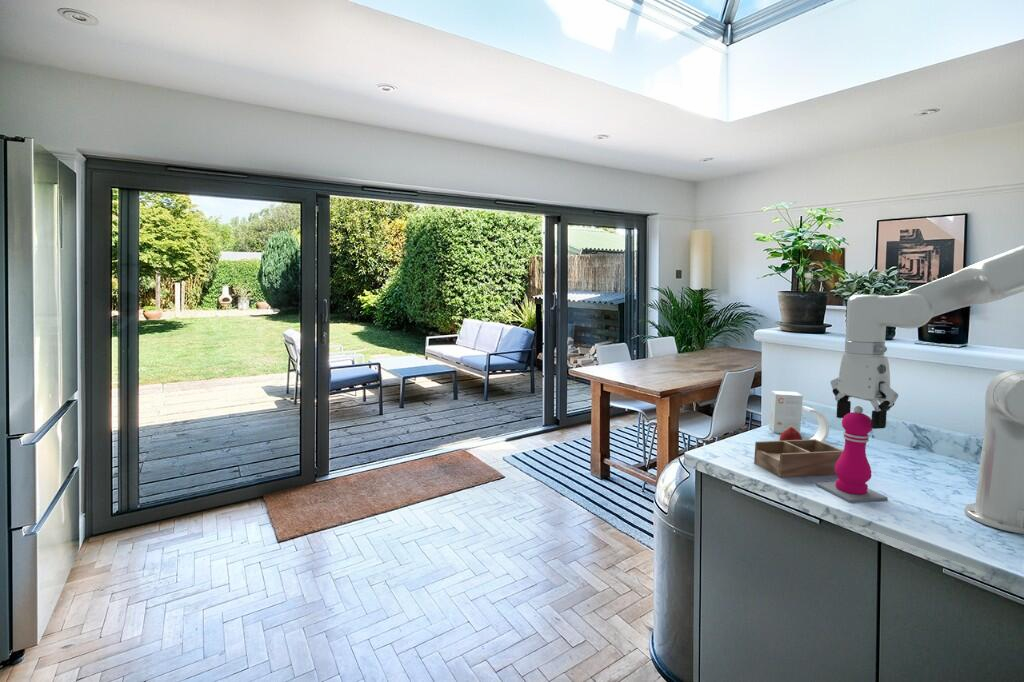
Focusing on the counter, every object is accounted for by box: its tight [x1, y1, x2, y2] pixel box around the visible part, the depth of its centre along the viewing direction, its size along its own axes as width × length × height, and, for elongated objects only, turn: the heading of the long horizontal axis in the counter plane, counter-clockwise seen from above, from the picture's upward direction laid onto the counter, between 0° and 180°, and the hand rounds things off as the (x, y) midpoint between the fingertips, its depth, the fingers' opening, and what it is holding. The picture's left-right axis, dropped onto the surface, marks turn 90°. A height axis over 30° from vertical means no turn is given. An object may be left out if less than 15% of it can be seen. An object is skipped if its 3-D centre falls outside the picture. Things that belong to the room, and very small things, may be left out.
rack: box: [753, 438, 844, 478], centre depth 137 cm, size 11×18×6 cm, turn 100°
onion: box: [779, 426, 803, 441], centre depth 150 cm, size 6×6×8 cm
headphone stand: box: [802, 405, 830, 443], centre depth 156 cm, size 5×6×12 cm
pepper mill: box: [835, 405, 873, 495], centre depth 121 cm, size 7×7×20 cm
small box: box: [768, 390, 804, 435], centre depth 172 cm, size 8×6×13 cm
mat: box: [815, 481, 889, 503], centre depth 122 cm, size 10×10×1 cm
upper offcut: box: [767, 453, 780, 460], centre depth 136 cm, size 7×5×2 cm
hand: (860, 422), depth 120 cm, fingers open, 9 cm apart
